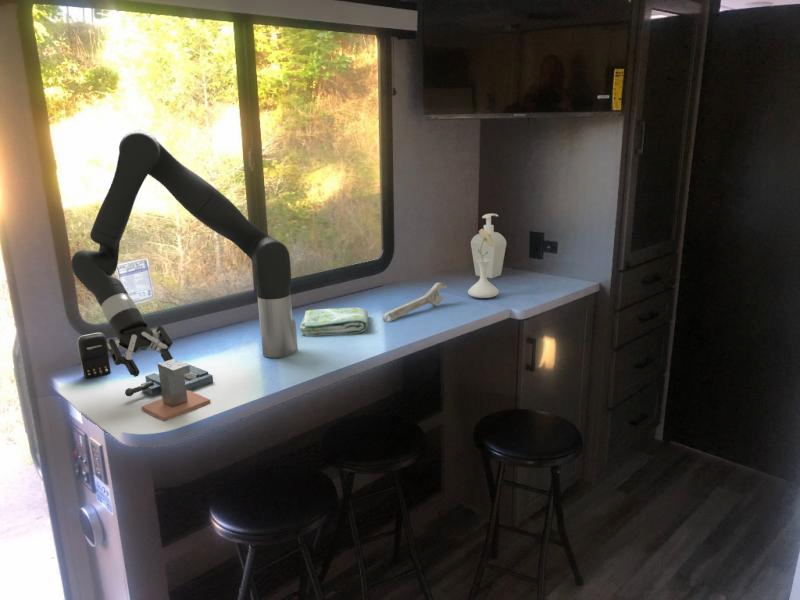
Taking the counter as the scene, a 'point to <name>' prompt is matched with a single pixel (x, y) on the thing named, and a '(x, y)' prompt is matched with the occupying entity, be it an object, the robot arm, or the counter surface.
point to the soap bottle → (489, 250)
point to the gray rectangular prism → (173, 382)
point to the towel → (334, 321)
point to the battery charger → (94, 354)
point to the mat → (168, 412)
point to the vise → (197, 381)
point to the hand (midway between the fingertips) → (154, 369)
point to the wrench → (417, 303)
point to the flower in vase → (483, 273)
